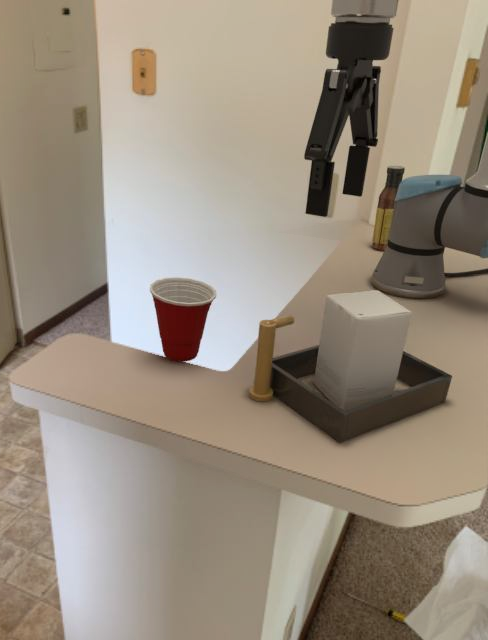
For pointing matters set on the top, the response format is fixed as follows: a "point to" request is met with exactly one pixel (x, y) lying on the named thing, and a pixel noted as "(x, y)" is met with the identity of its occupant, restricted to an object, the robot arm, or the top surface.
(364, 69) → the robot arm
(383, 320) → the rectangular carton
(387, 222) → the sauce bottle
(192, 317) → the plastic cup
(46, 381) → the top surface
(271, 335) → the sink
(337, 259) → the top surface
